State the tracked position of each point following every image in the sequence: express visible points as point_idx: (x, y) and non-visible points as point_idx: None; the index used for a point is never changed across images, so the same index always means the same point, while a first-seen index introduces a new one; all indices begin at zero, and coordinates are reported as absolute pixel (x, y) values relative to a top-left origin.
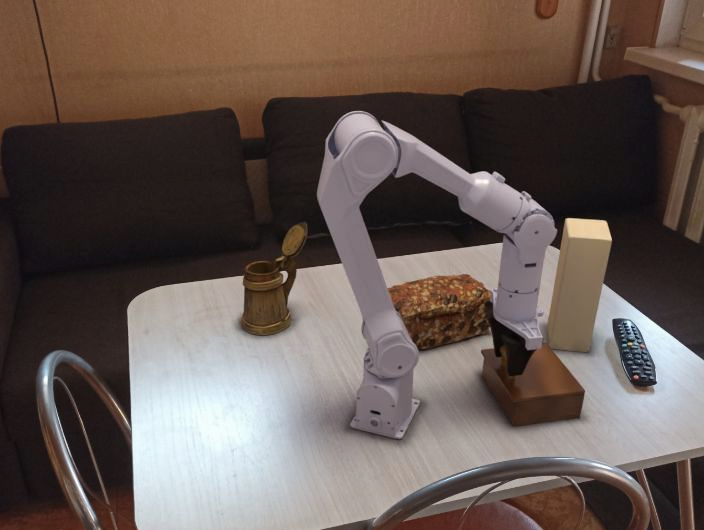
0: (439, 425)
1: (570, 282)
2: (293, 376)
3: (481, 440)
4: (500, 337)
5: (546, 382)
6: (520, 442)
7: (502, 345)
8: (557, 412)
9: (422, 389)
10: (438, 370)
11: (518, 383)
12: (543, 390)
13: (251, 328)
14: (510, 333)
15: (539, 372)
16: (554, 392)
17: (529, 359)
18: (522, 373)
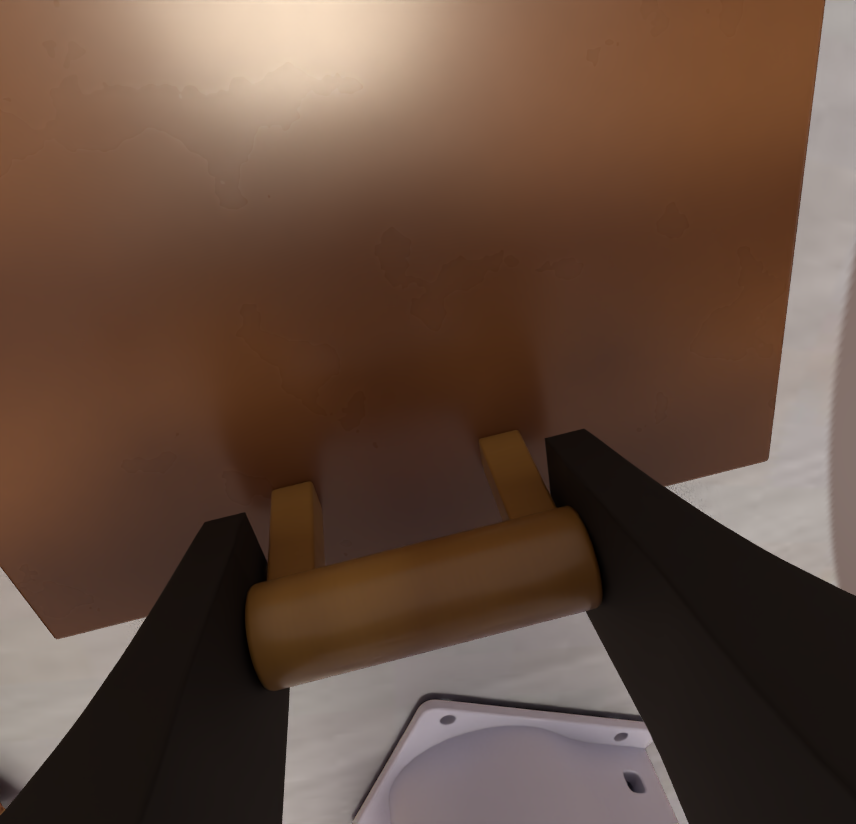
0: (582, 624)
1: None
2: None
3: (719, 478)
4: (258, 821)
5: (599, 143)
6: (788, 302)
7: (260, 689)
8: None
9: (309, 694)
10: (115, 652)
11: (580, 409)
12: (721, 206)
13: None
14: (202, 798)
15: (409, 184)
16: (786, 96)
17: (729, 529)
18: (600, 440)
